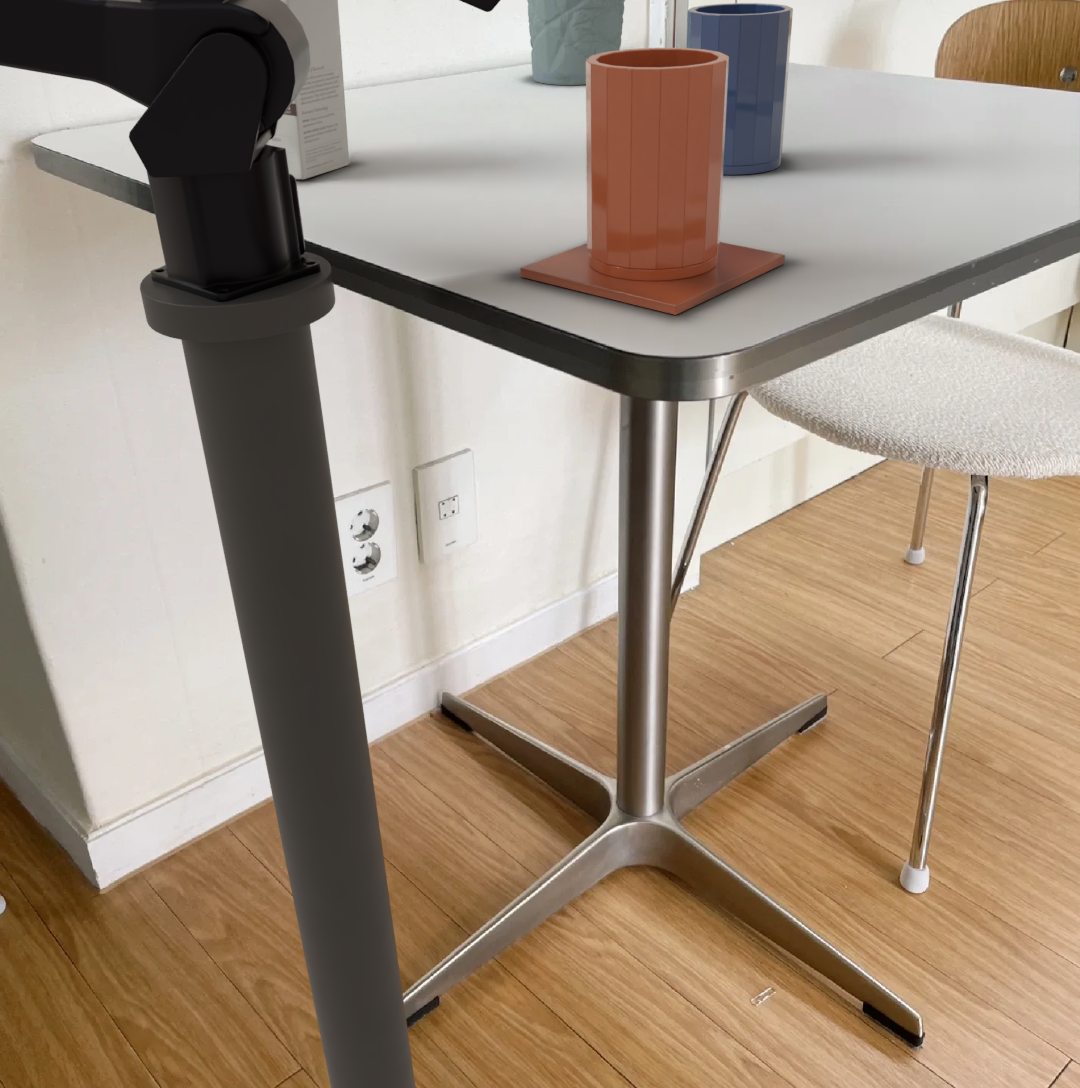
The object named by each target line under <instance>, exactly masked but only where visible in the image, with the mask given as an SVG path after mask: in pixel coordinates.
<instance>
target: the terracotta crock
mask: <svg viewBox="0 0 1080 1088" xmlns="http://www.w3.org/2000/svg"><path fill="white" fill-rule="evenodd" d="M728 66H729V56H727V55H725V54H723V53H721V52H717V51H711V50H705V49H692V48H686V47H642V48H626V49H620V50H617V51H609V52H604V53H600V54H596V55H592V56H590V57H589V58H588V59H586V84H585V128H586V129H585V131H586V133H585V136H586V140H585V141H586V143H585V144H586V148H585V149H586V228H587V229H586V243H587V250H588V252H589V264H590V266H591V267H592V268H593V269H594V270H596V271H598V272H600V273H602V274H605V275H608V276H612V277H616V278H621V279H628V280H639V281H666V280H677V279H684V278H689V277H693V276H697V275H700V274H703V273H706V272H708V271H710V270H711V269H713V268H714V267H715V266H716V264H717V263H718V250H719V243H720V242H721V224H722V223H721V222H722V221H721V220H722V204H723V203H722V201H723V182H724V175H723V164H724V145H725V125H726V105H727V86H728Z"/></svg>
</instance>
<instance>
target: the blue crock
mask: <svg viewBox="0 0 1080 1088" xmlns="http://www.w3.org/2000/svg"><path fill="white" fill-rule="evenodd" d="M793 14H794V8H793V7H791V6H789V5H785V4H777V3H758V2H735V3H733V2H731V3H716V4H704V5H699V6H692V7H691V8H689V9H687V14H686V15H687V17H686V45H685V46H686V47H685V48H692V49H705V50H711V51H717V52H721V53H723V54H725V55H727V56H729V66H728V86H727V105H726V125H725V145H724V164H723V176H724V175H725V176H734V175H735V176H740V175H741V176H742V175H756V174H762V173H766V172H770V171H773V170H775V169H778V168H779V167H780V166H781V163H782V155H783V145H784V134H785V133H784V131H785V119H786V105H787V93H788V92H787V91H788V80H789V65H790V54H791V53H790V52H791V39H792V27H793Z"/></svg>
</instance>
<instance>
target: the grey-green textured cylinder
mask: <svg viewBox="0 0 1080 1088" xmlns="http://www.w3.org/2000/svg"><path fill="white" fill-rule="evenodd" d="M526 1H527V17H528V24H529V25H528V29H529V36H530V38H529V39H530V40H529V42H530V47H531V52H530V57H531V58H530V59H531V71H532V77H533V80H534V81H535V82H537V83H540V84H545V85H557V86H580V85H583V86H584V85H586V59H588V58H589V57H590V56H592V55H596V54H600V53H604V52H609V51H617V50H621V46H622V35H623V26H624V25H623V23H624V13H625V2H626V0H526Z"/></svg>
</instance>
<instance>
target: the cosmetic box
mask: <svg viewBox="0 0 1080 1088" xmlns="http://www.w3.org/2000/svg"><path fill="white" fill-rule="evenodd" d="M281 1H282V2H284V3H285V4H286V5H287V6H288V8H289V9H290V10H291V11H292V13H293V14H294V15H295V17H296V18H297V19H298V21H299V22H300V23H301V25H302V27H303V29H304V32H305V35H306V37H307V40H308V42H309V50H310V67H309V72H308V76H307V80H306V82H305V84H304V86H303V87H302V89H301V90H300V92H299V94H298V95H297V97H296V98H295V99H294V101H293V102H292V103H291V105H290V106H289V108H288V109H287V110H286V112H285V113H284V114H283V116H282V117H281V118H280V119H279V120H278V124H277V129H276V134H275V136H274V137H273V138H272V139H269V141H268V142H267V143H266V145H271V146H276V147H281V148H285V149H286V155H287V162H288V169H289V174H291V175H293V176H294V177H295V178H296V180H307V179H310V178H314V177H316V176H319V175H322V174H325V173H328V172H332V171H335V170H339V169H341V168H343V167H347V166H349V165H350V155H349V153H350V152H349V140H348V128H347V127H348V126H347V111H346V99H345V82H344V70H343V54H342V41H341V40H342V39H341V26H340V14H339V0H281Z"/></svg>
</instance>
